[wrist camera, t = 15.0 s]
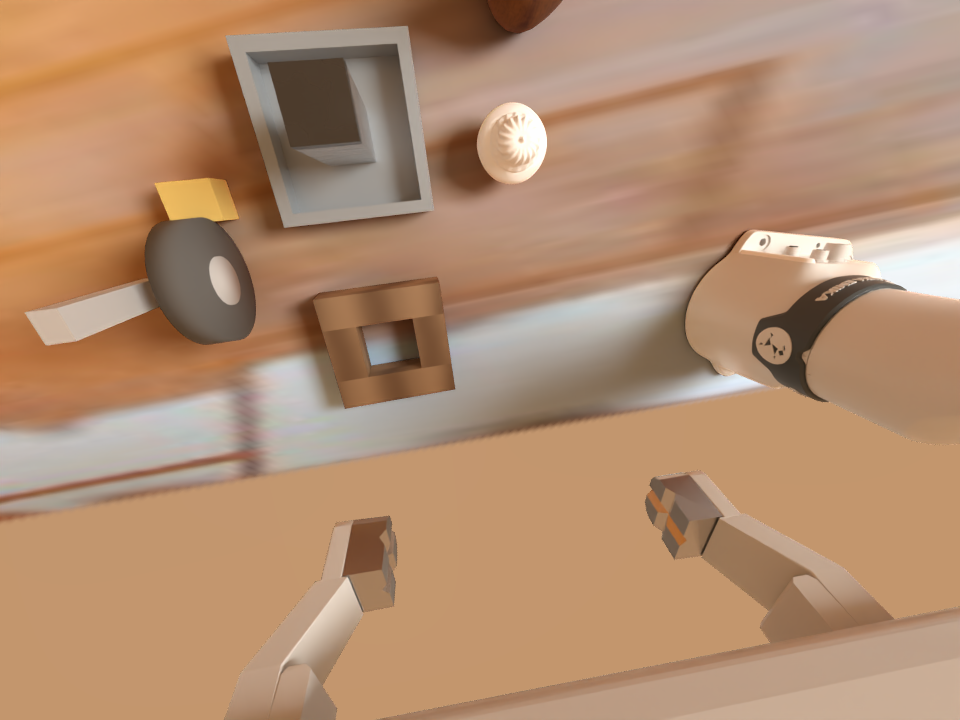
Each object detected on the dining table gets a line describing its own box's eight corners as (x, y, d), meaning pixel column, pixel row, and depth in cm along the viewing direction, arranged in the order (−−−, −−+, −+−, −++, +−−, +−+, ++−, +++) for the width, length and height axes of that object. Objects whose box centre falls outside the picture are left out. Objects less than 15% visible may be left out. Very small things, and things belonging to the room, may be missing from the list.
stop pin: (366, 109, 31) (343, 57, 20) (376, 161, 33) (360, 141, 22) (318, 113, 31) (267, 62, 20) (330, 166, 32) (290, 147, 21)
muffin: (470, 185, 35) (484, 181, 29) (470, 110, 33) (485, 88, 27) (531, 186, 36) (557, 183, 30) (535, 113, 34) (564, 93, 28)
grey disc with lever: (225, 179, 32) (89, 162, 18) (274, 319, 37) (197, 386, 23) (143, 188, 31) (-64, 176, 17) (205, 329, 36) (83, 404, 23)
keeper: (437, 276, 38) (439, 282, 36) (452, 377, 43) (455, 389, 40) (319, 292, 37) (312, 300, 34) (349, 395, 42) (345, 408, 39)
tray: (407, 42, 30) (407, 26, 27) (432, 209, 36) (434, 210, 33) (243, 52, 29) (225, 35, 26) (294, 225, 34) (284, 227, 31)
